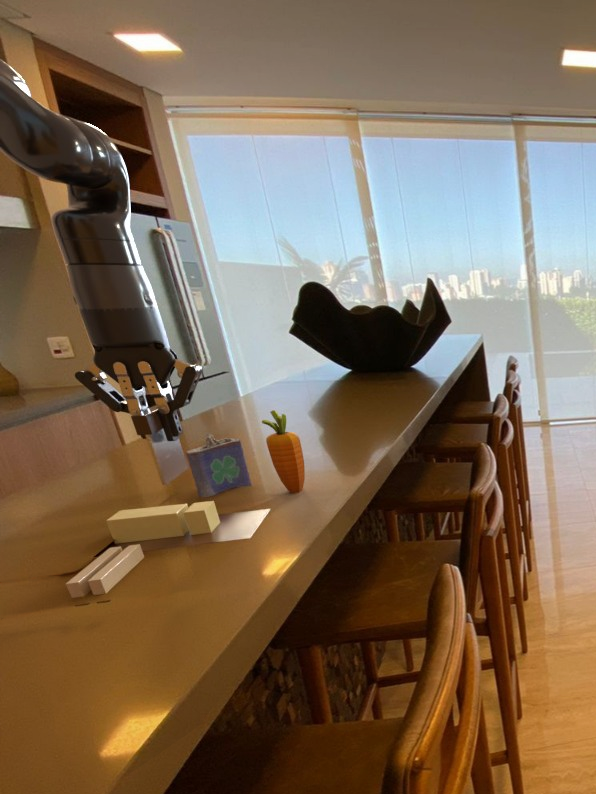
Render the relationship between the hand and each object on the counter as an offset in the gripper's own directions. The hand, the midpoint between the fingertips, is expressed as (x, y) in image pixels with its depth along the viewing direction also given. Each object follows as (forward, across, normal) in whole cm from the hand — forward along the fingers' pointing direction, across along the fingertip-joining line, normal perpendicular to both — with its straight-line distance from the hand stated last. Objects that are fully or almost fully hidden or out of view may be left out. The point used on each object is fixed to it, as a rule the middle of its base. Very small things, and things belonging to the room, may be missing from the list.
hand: (163, 440), depth 76 cm
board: (+15, 0, 0) cm, 15 cm away
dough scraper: (+5, 0, 0) cm, 5 cm away
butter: (+13, +4, 0) cm, 14 cm away
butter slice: (+13, -2, 0) cm, 13 cm away
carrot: (+15, -10, -14) cm, 23 cm away
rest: (+15, +5, +13) cm, 20 cm away
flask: (+15, +2, -20) cm, 25 cm away
